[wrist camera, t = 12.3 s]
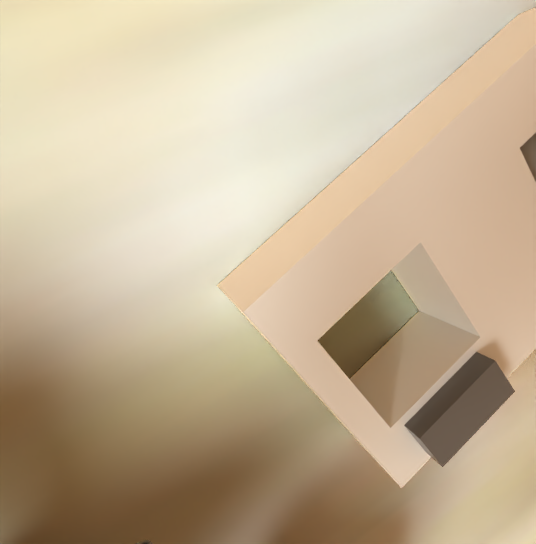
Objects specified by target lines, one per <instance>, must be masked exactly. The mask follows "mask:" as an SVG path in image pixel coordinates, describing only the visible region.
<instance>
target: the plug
mask: <svg viewBox="0 0 536 544" xmlns="http://www.w3.org/2000/svg"><path fill="white" fill-rule="evenodd" d="M520 150H521V152H522V154H523V156H524V158H525V160H526V163H527V165H528V167H529V169H530V171H531V173H532V175H533V177H534V180H535V182H536V133H535V134H534V135H533V136H532V137H531V138H529V139H528V140H527V141H526V142H525V143H524V144H523V145H522V146H521V147H520Z"/></svg>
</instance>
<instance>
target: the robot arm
mask: <svg viewBox="0 0 536 544" xmlns="http://www.w3.org/2000/svg"><path fill="white" fill-rule="evenodd" d="M136 544H152V542H151V541H149V540H145V541H142V542H139V543H136Z"/></svg>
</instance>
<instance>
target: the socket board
mask: <svg viewBox="0 0 536 544" xmlns="http://www.w3.org/2000/svg"><path fill="white" fill-rule="evenodd" d="M535 133H536V7H535V8H533V9H530V10H528V11H525V12H523V13H520V14H518V15H517V16H516V17H515V18H514V19H513V20H512V21H511V22H509V23H508V24H507V25H506V26H505V27H504V28H503V29H502V30H501V31H499V32H498V33H497V34H496V35H495V36H494V37H493V38H492V39H491V40H489V41H488V42H487V43H486V44H485V45H484V46H483V47H482V48H481V49H479V50H478V51H477V52H476V53H475V54H474V55H473V56H472V57H470V58H469V59H468V60H467V61H466V62H465V63H464V64H463V65H462V66H460V67H459V68H458V69H457V70H456V71H455V72H454V73H453V74H452V75H450V76H449V77H448V78H447V79H446V80H445V81H444V82H443V83H442V84H440V85H439V86H438V87H437V88H436V89H435V90H434V91H433V92H432V93H430V94H429V95H428V96H427V97H426V98H425V99H424V100H423V101H422V102H420V103H419V104H418V105H417V106H416V107H415V108H414V109H413V110H412V111H410V112H409V113H408V114H407V115H406V116H405V117H404V118H403V119H401V120H400V121H399V122H398V123H397V124H396V125H395V126H394V127H393V128H391V129H390V130H389V131H388V132H387V133H386V134H385V135H384V136H383V137H381V138H380V139H379V140H378V141H377V142H376V143H375V144H374V145H373V146H371V147H370V148H369V149H368V150H367V151H366V152H365V153H364V154H363V155H361V156H360V157H359V158H358V159H357V160H356V161H355V162H354V163H353V164H351V165H350V166H349V167H348V168H347V169H346V170H345V171H344V172H343V173H341V174H340V175H339V176H338V177H337V178H336V179H335V180H334V181H333V182H331V183H330V184H329V185H328V186H327V187H326V188H325V189H324V190H322V191H321V192H320V193H319V194H318V195H317V196H316V197H315V198H314V199H312V200H311V201H310V202H309V203H308V204H307V205H306V206H305V207H304V208H302V209H301V210H300V211H299V212H298V213H297V214H296V215H295V216H294V217H292V218H291V219H290V220H289V221H288V222H287V223H286V224H285V225H284V226H282V227H281V228H280V229H279V230H278V231H277V232H276V233H275V234H274V235H272V236H271V237H270V238H269V239H268V240H267V241H266V242H265V243H264V244H262V245H261V246H260V247H259V248H258V249H257V250H256V251H255V252H254V253H252V254H251V255H250V256H249V257H248V258H247V259H246V260H245V261H243V262H242V263H241V264H240V265H239V266H238V267H237V268H236V269H235V270H233V271H232V272H231V273H230V274H229V275H228V276H227V277H226V278H225V279H223V280H222V281H221V282H220V283H219V284H218V285H217V286H218V287H219V288H220V289H221V291H222V292H223V293H224V294H225V295H226V296H227V297H228V298H229V299H230V300H231V302H232V303H233V304H234V305H235V306H236V307H237V308H238V309H239V310H240V312H241V313H242V314H243V315H244V316H245V317H246V318H247V319H248V320H249V322H250V323H251V324H252V325H253V326H254V327H255V328H256V329H257V330H258V332H259V333H260V334H261V335H262V336H263V337H264V338H265V339H266V340H267V341H268V343H269V344H270V345H271V346H272V347H273V348H274V349H275V350H276V351H277V353H278V354H279V355H280V356H281V357H282V358H283V359H284V360H285V361H286V363H287V364H288V365H289V366H290V367H291V368H292V369H293V370H294V371H295V373H296V374H297V375H298V376H299V377H300V378H301V379H302V380H303V381H304V382H305V384H306V385H307V386H308V387H309V388H310V389H311V390H312V391H313V392H314V394H315V395H316V396H317V397H318V398H319V399H320V400H321V401H322V402H323V404H324V405H325V406H326V407H327V408H328V409H329V410H330V411H331V412H332V414H333V415H334V416H335V417H336V418H337V419H338V420H339V421H340V422H341V423H342V425H343V426H344V427H345V428H346V429H347V430H348V431H349V432H350V433H351V435H352V436H353V437H354V438H355V439H356V440H357V441H358V442H359V443H360V444H361V445H362V446H363V448H364V449H365V450H366V451H367V452H368V453H369V454H370V455H371V456H372V457H373V458H374V459H375V460H376V461H377V463H378V464H379V465H380V466H381V467H382V468H383V469H384V470H385V471H386V472H387V473H388V474H389V475H390V476H391V478H392V479H393V480H394V481H395V482H396V483H397V484H398V485H399V486H400V487H401V488H402V487H403V486H404V485H405V484H406V483H407V482H408V481H409V480H410V479H411V478H412V477H413V476H414V475H415V474H416V473H417V472H418V471H419V470H420V469H421V468H422V467H423V466H424V465H425V464H426V463H427V461H428V460H429V459H430V458H431V457H432V458H433V459H434V460H435V461H436V462H437V463H439V464H440V465H441V466H442V467H443V466H444V465H445V464H446V463H447V462H448V461H449V460H450V459H451V458H452V457H453V456H454V455H455V454H456V453H457V452H458V450H459V449H460V448H461V447H462V446H463V445H464V444H465V443H466V442H467V441H468V440H469V439H470V438H471V437H472V436H473V435H474V434H475V433H476V432H477V431H478V429H479V428H480V427H481V426H482V425H483V424H484V423H485V422H486V421H487V420H488V419H489V418H490V417H491V416H492V415H493V414H494V413H495V412H496V411H497V410H498V409H499V407H500V406H501V405H502V404H503V403H504V402H505V401H506V400H507V399H508V398H509V397H510V396H511V395H512V394H513V393H514V392H515V391H514V389H513V388H512V386H511V384H510V383H509V381H508V380H507V378H508V377H509V376H510V375H511V374H512V373H513V372H514V371H515V370H516V369H517V368H518V367H519V366H520V365H521V364H522V363H523V362H524V361H525V360H526V358H527V357H528V356H529V355H530V354H531V353H532V352H533V351H534V350H535V349H536V182H535V180H534V177H533V175H532V173H531V171H530V169H529V167H528V165H527V163H526V160H525V158H524V156H523V154H522V152H521V150H520V147H521V146H522V145H523V144H524V143H525V142H526V141H527V140H528V139H529V138H531V137H532V136H533V135H534V134H535ZM391 270H392V272H393V273H394V275H395V276H396V278H397V279H398V281H399V282H400V284H401V285H402V286H403V288H404V289H405V291H406V292H407V294H408V295H409V297H410V298H411V300H412V301H413V302H414V304H415V305H416V307H417V308H418V310H419V311H418V312H417V313H416V314H415V315H414V316H413V317H412V318H411V319H410V320H409V321H408V322H407V323H406V324H405V325H404V326H403V327H402V328H401V329H400V330H399V331H398V332H397V333H396V334H395V335H394V336H393V337H392V338H391V339H390V340H389V341H388V342H387V343H386V344H385V345H384V346H383V347H382V348H381V349H380V350H379V351H378V352H377V353H376V354H375V355H374V356H372V357H371V358H370V359H369V360H368V361H367V362H366V363H365V364H364V365H363V366H362V367H361V368H360V369H359V370H358V371H357V372H356V373H355V374H354V375H353V376H352V377H351V378H350V379H349V378H348V377H347V376H346V374H345V373H344V372H343V371H342V370H341V368H340V367H339V366H338V365H337V364H336V362H335V361H334V360H333V359H332V358H331V357H330V355H329V354H328V353H327V352H326V351H325V349H324V348H323V347H322V346H321V345H320V343H319V342H318V341H317V340H318V339H320V338H321V337H322V336H323V335H324V334H325V333H326V332H327V331H328V330H329V329H330V328H331V327H332V326H333V325H334V324H335V323H336V322H337V321H338V320H339V319H341V318H342V317H343V316H344V315H345V314H346V313H347V312H348V311H349V310H350V309H351V308H352V307H353V306H354V305H355V304H356V303H357V302H358V301H359V300H360V299H362V298H363V297H364V296H365V295H366V294H367V293H368V292H369V291H370V290H371V289H372V288H373V287H374V286H375V285H376V284H377V283H378V282H379V281H380V280H381V279H383V278H384V277H385V276H386V275H387V274H388V273H389V272H390V271H391Z"/></svg>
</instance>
